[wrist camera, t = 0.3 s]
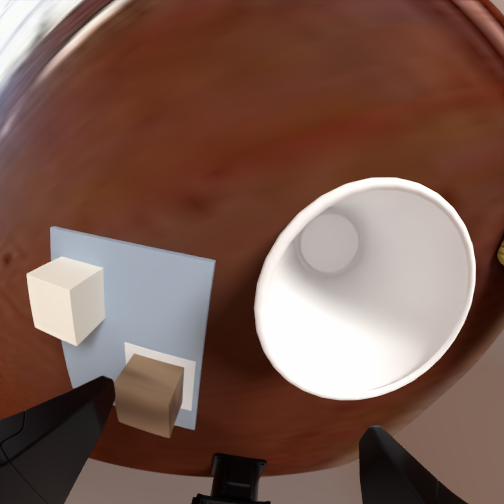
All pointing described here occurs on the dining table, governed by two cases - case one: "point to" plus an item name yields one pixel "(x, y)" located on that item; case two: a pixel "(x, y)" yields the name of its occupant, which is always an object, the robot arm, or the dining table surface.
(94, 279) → the cream block
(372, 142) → the dining table surface
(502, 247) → the figurine
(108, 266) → the mat
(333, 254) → the cup
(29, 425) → the robot arm
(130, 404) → the walnut block
